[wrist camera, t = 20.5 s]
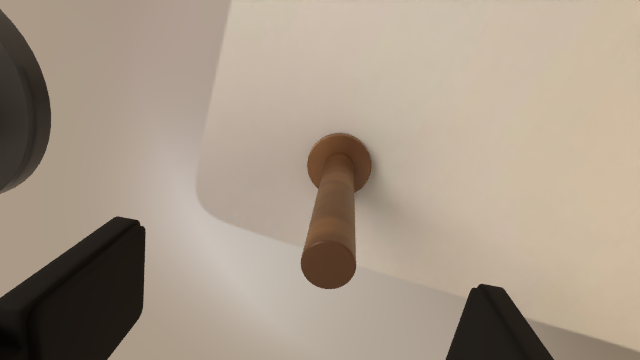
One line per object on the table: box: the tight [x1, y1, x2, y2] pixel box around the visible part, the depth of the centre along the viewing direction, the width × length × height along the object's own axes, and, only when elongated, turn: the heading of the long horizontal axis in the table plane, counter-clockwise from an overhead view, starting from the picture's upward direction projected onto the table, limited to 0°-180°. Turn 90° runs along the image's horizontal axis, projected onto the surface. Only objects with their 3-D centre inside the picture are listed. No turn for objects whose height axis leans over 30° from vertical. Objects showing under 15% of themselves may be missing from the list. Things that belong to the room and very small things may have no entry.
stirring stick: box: [301, 133, 371, 289], centre depth 20 cm, size 4×4×14 cm
